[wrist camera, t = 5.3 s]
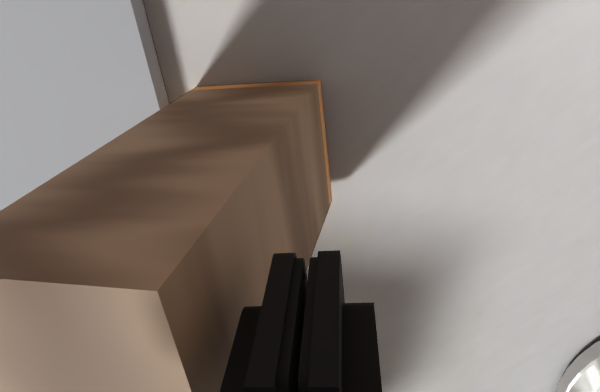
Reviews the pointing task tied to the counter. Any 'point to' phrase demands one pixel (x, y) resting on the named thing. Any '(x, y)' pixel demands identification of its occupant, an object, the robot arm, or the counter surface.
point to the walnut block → (161, 242)
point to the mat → (70, 84)
